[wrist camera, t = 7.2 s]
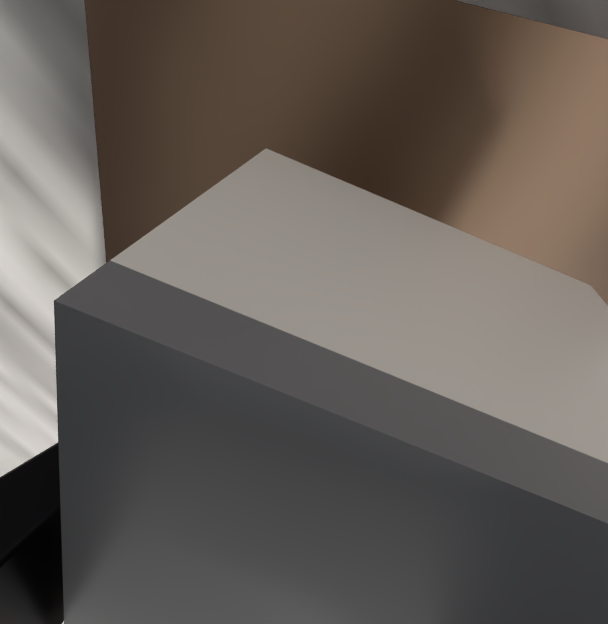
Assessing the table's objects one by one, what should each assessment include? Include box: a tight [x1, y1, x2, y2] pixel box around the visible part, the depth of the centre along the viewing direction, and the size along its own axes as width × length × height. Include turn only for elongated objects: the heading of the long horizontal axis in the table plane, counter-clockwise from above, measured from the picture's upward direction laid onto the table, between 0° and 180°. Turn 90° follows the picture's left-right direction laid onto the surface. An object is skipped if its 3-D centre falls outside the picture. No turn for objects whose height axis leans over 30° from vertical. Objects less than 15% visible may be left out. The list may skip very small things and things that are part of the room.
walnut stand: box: [85, 0, 608, 305], centre depth 13 cm, size 14×16×2 cm
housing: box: [54, 148, 608, 624], centre depth 7 cm, size 10×6×5 cm, turn 160°
